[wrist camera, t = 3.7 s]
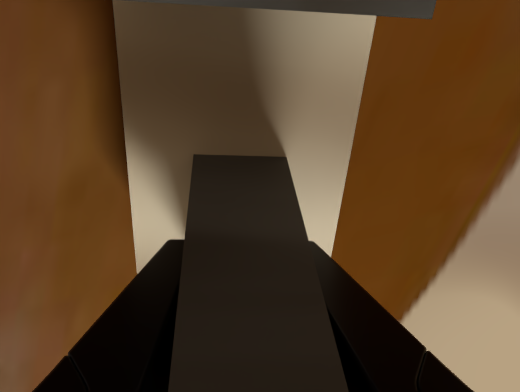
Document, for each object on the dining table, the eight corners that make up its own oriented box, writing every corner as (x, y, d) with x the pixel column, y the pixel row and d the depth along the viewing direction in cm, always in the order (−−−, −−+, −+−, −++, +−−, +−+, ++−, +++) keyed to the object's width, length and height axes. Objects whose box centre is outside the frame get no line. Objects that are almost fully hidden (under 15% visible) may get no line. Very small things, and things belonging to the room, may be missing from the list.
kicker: (317, 242, 13) (405, 546, 7) (145, 241, 13) (72, 565, 6) (372, -87, 9) (716, -68, 3) (119, -107, 9) (-157, -142, 2)
